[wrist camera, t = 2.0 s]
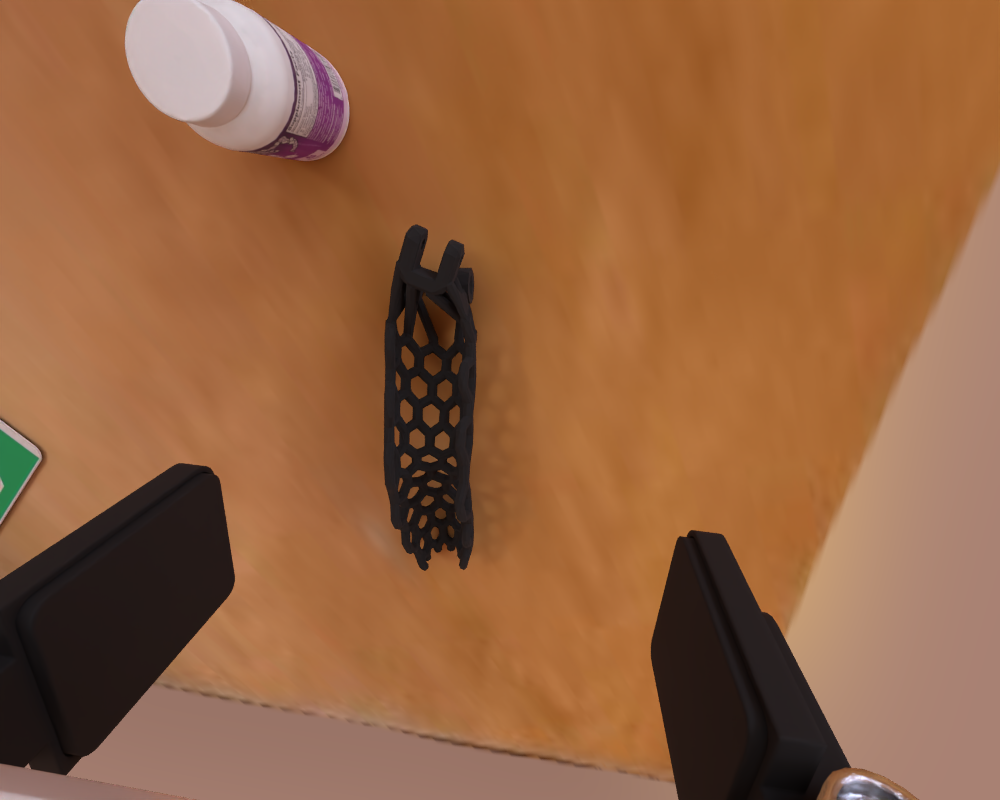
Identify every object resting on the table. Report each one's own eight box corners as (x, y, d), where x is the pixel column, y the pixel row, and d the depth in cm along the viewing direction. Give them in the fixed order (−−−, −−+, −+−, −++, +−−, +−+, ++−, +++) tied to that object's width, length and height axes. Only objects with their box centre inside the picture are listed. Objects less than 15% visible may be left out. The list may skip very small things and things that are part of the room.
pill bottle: (256, 152, 27) (110, 126, 19) (256, 38, 25) (92, -51, 16) (350, 171, 27) (249, 155, 18) (358, 58, 25) (248, -21, 16)
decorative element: (484, 553, 36) (471, 615, 30) (415, 548, 36) (391, 609, 31) (482, 224, 28) (464, 228, 22) (393, 223, 28) (355, 227, 23)
